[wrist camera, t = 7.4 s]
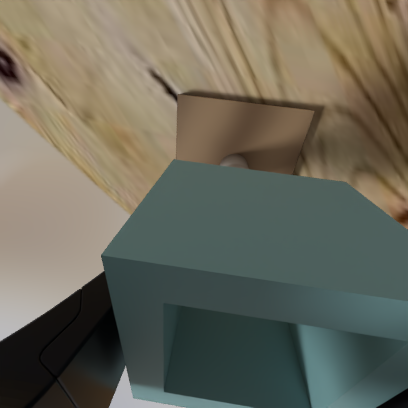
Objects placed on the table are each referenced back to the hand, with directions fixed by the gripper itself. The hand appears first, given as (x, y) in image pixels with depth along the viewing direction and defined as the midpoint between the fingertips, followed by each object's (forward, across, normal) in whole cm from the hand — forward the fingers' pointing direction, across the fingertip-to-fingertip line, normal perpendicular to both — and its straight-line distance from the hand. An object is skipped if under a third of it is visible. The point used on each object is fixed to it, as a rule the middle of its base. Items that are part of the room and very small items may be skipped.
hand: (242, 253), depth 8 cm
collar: (+1, 0, 0) cm, 1 cm away
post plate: (+11, 0, 0) cm, 11 cm away
